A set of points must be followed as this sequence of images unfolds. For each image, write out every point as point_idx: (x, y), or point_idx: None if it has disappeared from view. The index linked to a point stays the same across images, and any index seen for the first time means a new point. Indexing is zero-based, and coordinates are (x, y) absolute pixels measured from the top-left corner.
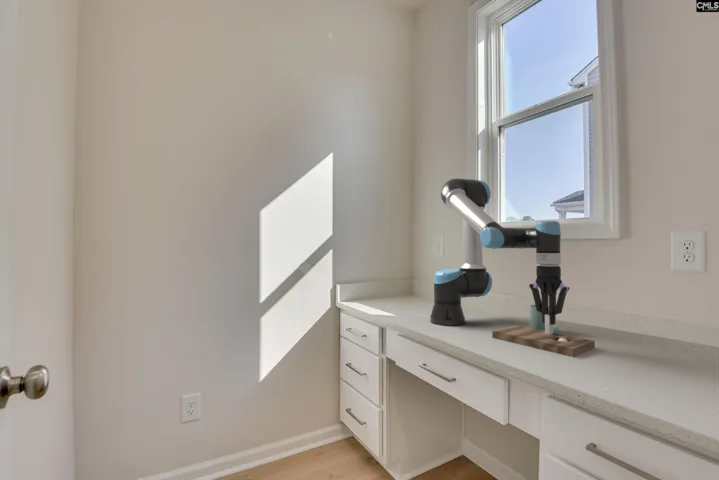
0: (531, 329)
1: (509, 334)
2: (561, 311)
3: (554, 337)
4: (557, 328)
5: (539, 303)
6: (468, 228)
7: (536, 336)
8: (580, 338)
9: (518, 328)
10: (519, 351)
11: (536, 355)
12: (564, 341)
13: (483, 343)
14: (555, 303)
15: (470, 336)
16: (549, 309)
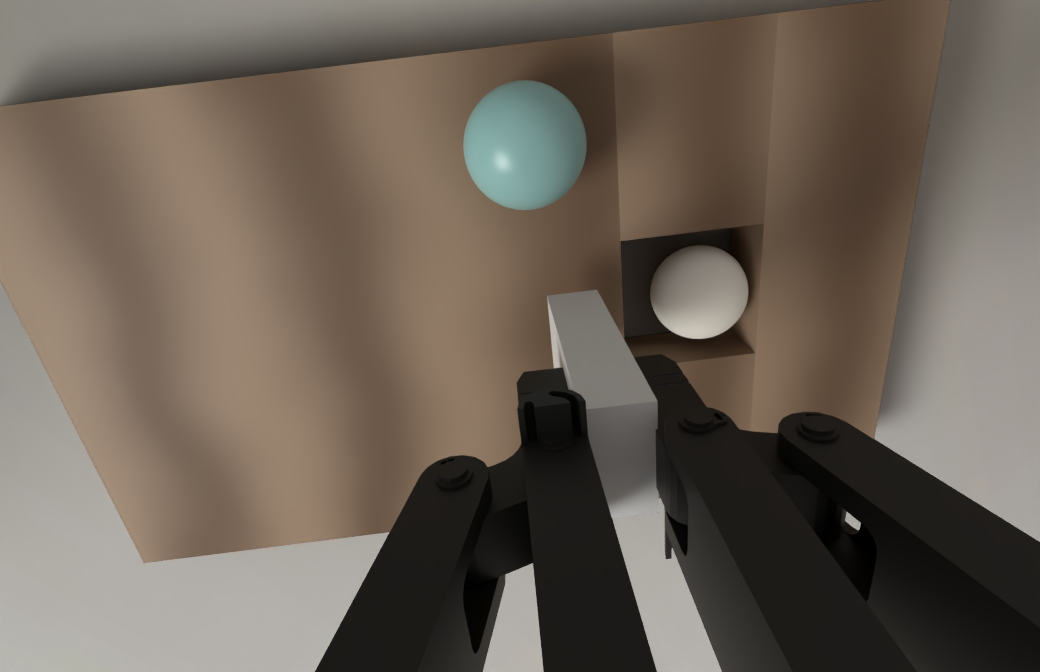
0: (224, 164)
1: (319, 536)
2: (861, 443)
3: (605, 277)
4: (582, 157)
5: (471, 662)
6: None
7: (486, 396)
8: (805, 50)
9: (126, 263)
10: None
11: (658, 585)
12: (732, 323)
13: (300, 658)
14: (834, 587)
15: (91, 620)
16: (694, 584)
